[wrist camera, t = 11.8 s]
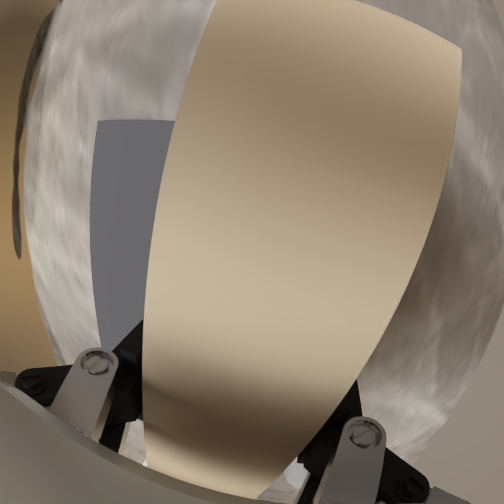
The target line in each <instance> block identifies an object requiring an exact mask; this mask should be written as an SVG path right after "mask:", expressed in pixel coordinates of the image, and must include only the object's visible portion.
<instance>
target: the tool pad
mask: <svg viewBox="0 0 504 504" xmlns="http://www.w3.org/2000/svg"><path fill="white" fill-rule="evenodd" d="M174 123H175V121H163V120H104V121H98V124H97V131H96V138H95V146H94V155H93V165H92V178H91V196H90V250H91V268H92V281H93V292H94V301H95V309H96V316H97V323H98V329H99V335H100V341H101V346H102V348H105V349H107V350H110V351H112V350H113V349H114V348H115V347H116V346H117V345H118V344H119V343H120V342H121V341H122V340H123V339H124V338H125V337H126V336H127V335H128V334H129V333H130V332H131V331H132V330H133V329H134V328H135V327H136V325H137V324H138V323H139V322H140V321H141V320H142V319H143V318H144V307H145V294H146V283H147V273H148V264H149V255H150V247H151V240H152V233H153V226H154V220H155V213H156V207H157V202H158V196H159V191H160V185H161V180H162V175H163V170H164V166H165V161H166V156H167V152H168V148H169V143H170V139H171V135H172V131H173V127H174Z"/></svg>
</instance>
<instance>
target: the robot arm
mask: <svg viewBox="0 0 504 504" xmlns="http://www.w3.org/2000/svg"><path fill="white" fill-rule="evenodd" d="M143 324H144V318H143V319H142V320H141V321H140V322H139V323H138V324H137V325H136V327H135V328H134V329H133V330H132V331H131V332H130V333H129V334H128V335H127V336H126V337H125V338H124V339H123V340H122V341H121V342H120V343H119V344H118V345H117V346H116V347H115V348H114V349H113V350H112V351H110V350H107V349H105V348H90V349H87V350H85V351H83V352H82V353H80V355H79V356H78V357H77V359H76V361H75V362H74V364H73V365H66V366H56V367H44V368H32V369H26V370H24V371H22V372H21V373H20V374H19V375H17V373H16V372H7V371H0V504H283V503H275V502H268V501H262V500H256V499H251V498H245V497H241V496H236V495H231V494H227V493H223V492H219V491H215V490H211V489H208V488H204V487H201V486H198V485H194V484H191V483H188V482H185V481H182V480H179V479H176V478H174V477H171V476H168V475H166V474H163V473H160V472H158V471H155V470H153V469H151V468H148V467H146V466H144V465H141V464H139V463H137V462H135V461H133V460H130V459H128V458H126V457H124V456H123V452H124V448H125V443H126V439H127V435H128V431H129V427H130V423H131V422H132V421H136V419H137V418H138V419H140V420H142V421H143V399H142V348H143ZM385 446H386V432H385V430H384V428H383V427H382V426H381V424H380V423H378V422H377V421H376V420H374V419H371V418H369V417H363V416H362V409H361V402H360V396H359V389H358V383H357V379H356V380H355V382H354V383H353V385H352V386H351V388H350V389H349V391H348V392H347V394H346V395H345V396H344V398H343V399H342V401H341V402H340V404H339V405H338V406H337V408H336V409H335V410H334V412H333V413H332V414H331V416H330V417H329V418H328V420H327V421H326V422H325V424H324V425H323V426H322V427H321V429H320V430H319V431H318V433H317V434H316V435H315V436H314V437H313V439H312V440H311V441H310V442H309V443H308V445H307V446H306V447H305V448H304V449H303V450H302V452H301V453H300V454H299V455H298V456H297V463H300V464H304V465H303V467H304V468H305V469H306V470H307V471H308V473H307V475H306V478H305V480H304V482H303V485H302V487H301V489H300V491H299V493H298V495H297V498H296V500H295V502H294V504H471V503H469V502H468V501H466V500H463V499H461V498H459V497H456V496H454V495H452V494H450V493H448V492H446V491H444V490H441V489H439V488H437V487H433V488H430V486H429V482H428V480H427V478H426V477H425V476H424V475H422V474H421V473H420V472H419V471H417V470H416V469H415V468H413V467H412V466H410V465H409V464H408V463H406V462H405V461H404V460H402V459H401V458H400V457H398V456H397V455H396V454H394V453H393V452H392V451H390V450H389V449H388V448H386V447H385Z"/></svg>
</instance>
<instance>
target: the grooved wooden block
mask: <svg viewBox="0 0 504 504" xmlns="http://www.w3.org/2000/svg"><path fill="white" fill-rule="evenodd" d="M461 69H462V49H460V48H458V47H457V46H455V45H454V44H452V43H450V42H449V41H447V40H445V39H443V38H442V37H440V36H438V35H436V34H434V33H432V32H430V31H428V30H427V29H425V28H423V27H421V26H418V25H416V24H414V23H412V22H410V21H408V20H406V19H403V18H401V17H399V16H396V15H394V14H391V13H389V12H386V11H384V10H381V9H378V8H376V7H373V6H370V5H367V4H364V3H361V2H358V1H354V0H217V1H216V4H215V6H214V8H213V11H212V13H211V15H210V18H209V20H208V23H207V25H206V28H205V30H204V33H203V36H202V38H201V41H200V43H199V46H198V49H197V52H196V55H195V57H194V60H193V63H192V66H191V69H190V72H189V75H188V78H187V82H186V85H185V88H184V91H183V95H182V98H181V102H180V105H179V109H178V112H177V116H176V120H175V123H174V127H173V131H172V135H171V139H170V143H169V148H168V152H167V156H166V161H165V166H164V170H163V175H162V180H161V185H160V191H159V196H158V202H157V207H156V213H155V220H154V226H153V233H152V240H151V247H150V255H149V264H148V273H147V283H146V294H145V307H144V324H143V348H142V399H143V422H144V437H145V449H146V459H147V467H148V468H151V469H153V470H155V471H158V472H160V473H163V474H166V475H168V476H171V477H174V478H176V479H179V480H182V481H185V482H188V483H191V484H194V485H198V486H201V487H204V488H208V489H211V490H215V491H219V492H223V493H227V494H231V495H236V496H241V497H245V498H251V499H256V498H257V497H258V496H259V495H260V494H261V493H262V492H263V491H264V490H265V489H266V488H267V487H269V486H270V485H271V484H272V483H273V482H274V481H275V480H276V479H277V478H278V477H279V476H280V474H281V473H282V472H283V471H284V470H285V469H286V468H287V467H288V466H289V465H290V464H291V463H292V462H293V461H294V460H295V458H296V457H297V456H298V455H299V454H300V453H301V452H302V450H303V449H304V448H305V447H306V446H307V445H308V443H309V442H310V441H311V440H312V439H313V437H314V436H315V435H316V434H317V433H318V431H319V430H320V429H321V427H322V426H323V425H324V424H325V422H326V421H327V420H328V418H329V417H330V416H331V414H332V413H333V412H334V410H335V409H336V408H337V406H338V405H339V404H340V402H341V401H342V399H343V398H344V396H345V395H346V394H347V392H348V391H349V389H350V388H351V386H352V385H353V383H354V382H355V380H356V379H357V377H358V375H359V374H360V372H361V371H362V369H363V368H364V366H365V364H366V363H367V361H368V359H369V358H370V356H371V354H372V353H373V351H374V349H375V348H376V346H377V344H378V342H379V341H380V339H381V337H382V335H383V333H384V331H385V330H386V328H387V326H388V324H389V322H390V320H391V318H392V316H393V314H394V312H395V310H396V308H397V306H398V304H399V302H400V300H401V298H402V296H403V294H404V292H405V289H406V287H407V285H408V283H409V280H410V278H411V276H412V274H413V271H414V269H415V266H416V264H417V262H418V259H419V257H420V254H421V251H422V249H423V246H424V243H425V241H426V238H427V235H428V232H429V230H430V227H431V224H432V221H433V218H434V215H435V211H436V208H437V205H438V202H439V198H440V195H441V191H442V187H443V184H444V180H445V176H446V172H447V168H448V163H449V159H450V154H451V149H452V144H453V139H454V133H455V127H456V121H457V114H458V106H459V97H460V85H461Z"/></svg>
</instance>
